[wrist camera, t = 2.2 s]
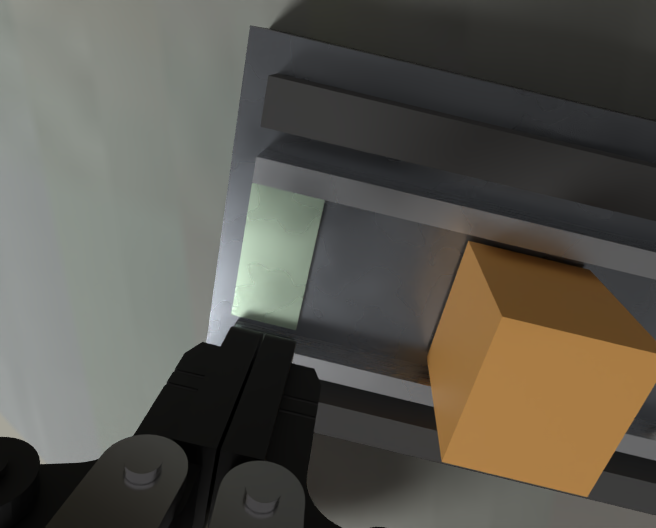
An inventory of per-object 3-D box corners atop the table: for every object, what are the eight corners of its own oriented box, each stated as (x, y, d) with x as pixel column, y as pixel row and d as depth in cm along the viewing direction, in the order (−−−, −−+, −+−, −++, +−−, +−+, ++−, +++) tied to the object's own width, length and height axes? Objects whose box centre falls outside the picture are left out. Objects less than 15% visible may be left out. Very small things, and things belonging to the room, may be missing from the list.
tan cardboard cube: (589, 269, 16) (671, 357, 12) (535, 383, 18) (587, 497, 13) (468, 240, 16) (502, 316, 12) (426, 357, 18) (441, 461, 13)
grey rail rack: (869, 214, 15) (911, 229, 14) (673, 495, 20) (692, 524, 18) (277, 73, 15) (268, 75, 14) (226, 386, 20) (215, 408, 19)
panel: (853, 168, 17) (973, 198, 13) (653, 472, 22) (701, 547, 19) (268, 28, 17) (239, 24, 13) (216, 366, 22) (187, 423, 19)
